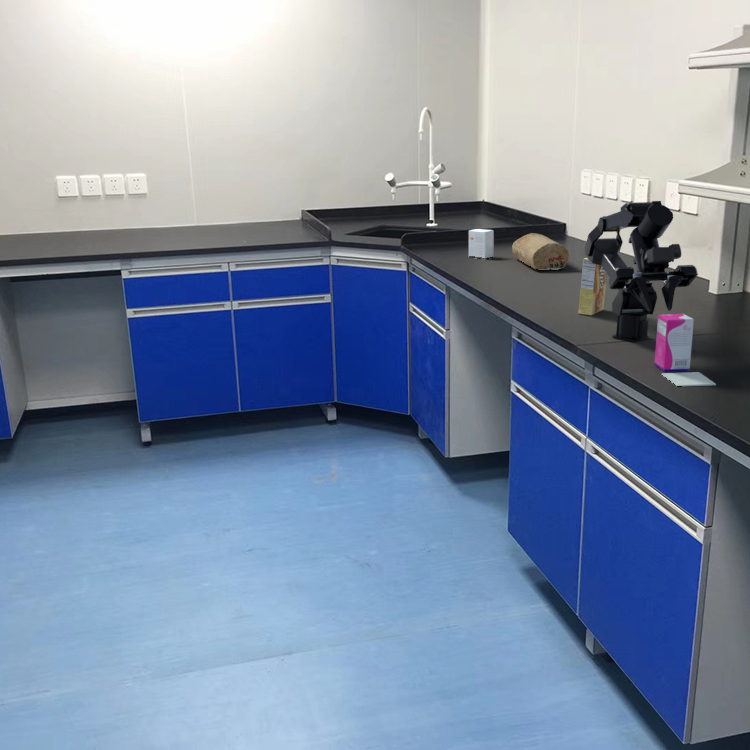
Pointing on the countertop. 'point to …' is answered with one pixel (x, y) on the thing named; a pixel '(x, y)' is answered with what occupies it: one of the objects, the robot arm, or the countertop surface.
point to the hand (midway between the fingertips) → (660, 310)
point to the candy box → (592, 288)
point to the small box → (481, 243)
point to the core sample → (540, 252)
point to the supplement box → (674, 342)
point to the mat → (688, 379)
